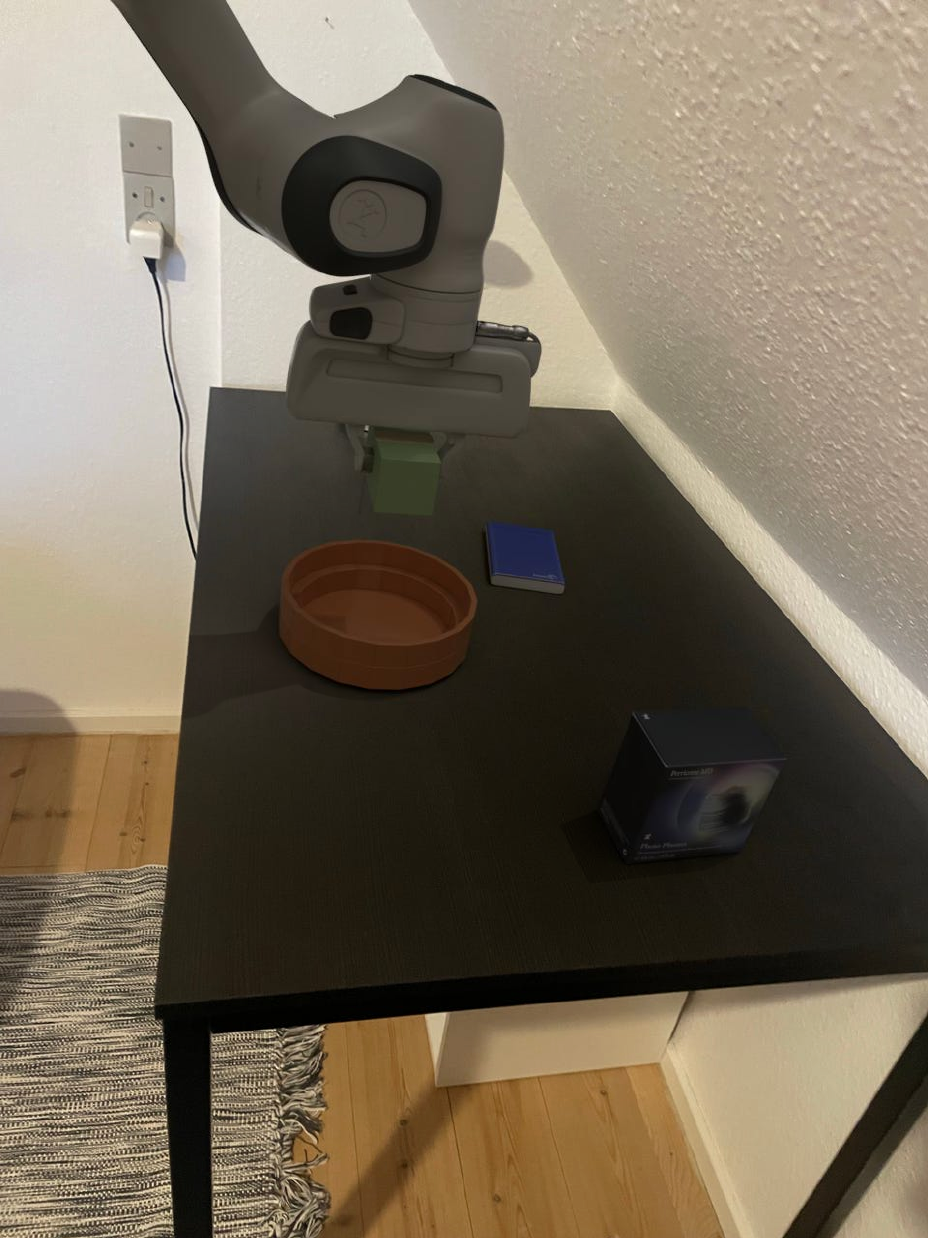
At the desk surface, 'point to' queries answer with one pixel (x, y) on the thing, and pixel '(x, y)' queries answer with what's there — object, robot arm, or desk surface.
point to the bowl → (376, 614)
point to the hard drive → (523, 558)
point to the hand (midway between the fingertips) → (398, 472)
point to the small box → (688, 783)
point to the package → (403, 471)
